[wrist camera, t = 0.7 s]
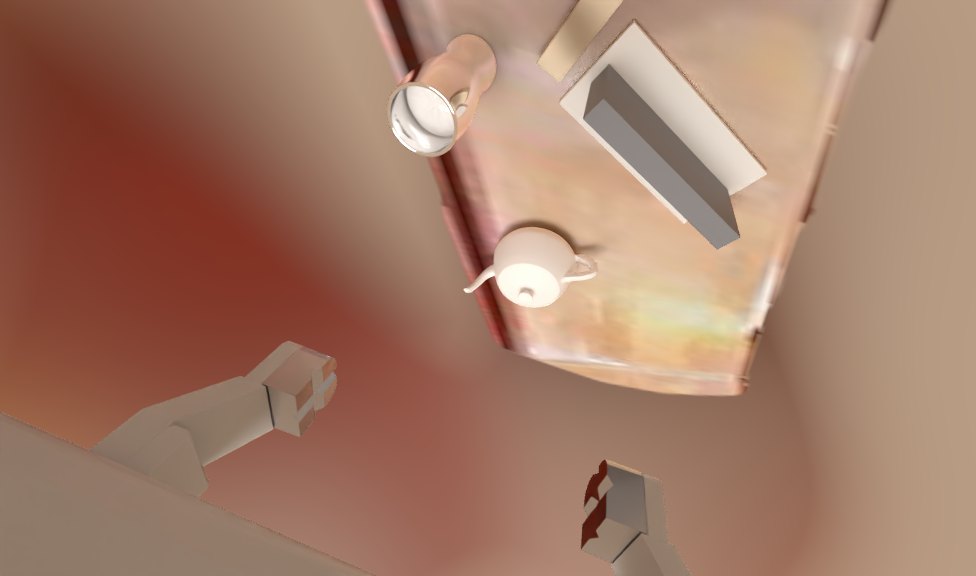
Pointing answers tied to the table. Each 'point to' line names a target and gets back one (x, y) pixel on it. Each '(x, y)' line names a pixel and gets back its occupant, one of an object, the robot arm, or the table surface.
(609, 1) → the birch bar
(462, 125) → the beer glass
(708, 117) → the stand
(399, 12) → the table surface
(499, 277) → the teapot
